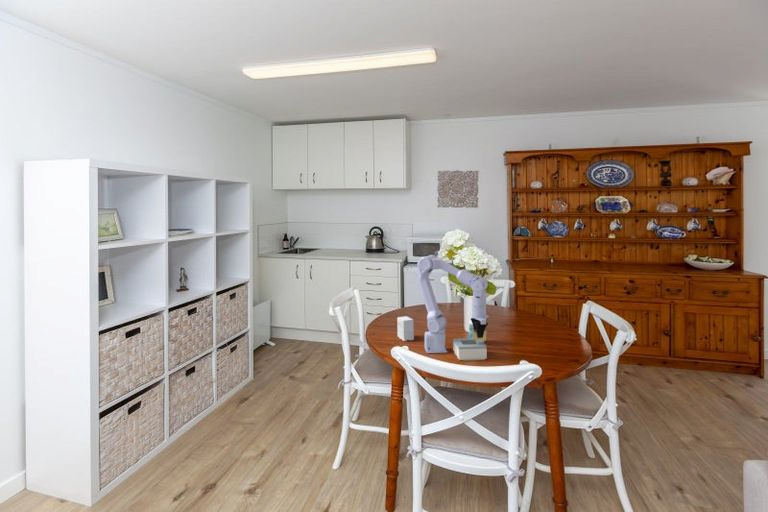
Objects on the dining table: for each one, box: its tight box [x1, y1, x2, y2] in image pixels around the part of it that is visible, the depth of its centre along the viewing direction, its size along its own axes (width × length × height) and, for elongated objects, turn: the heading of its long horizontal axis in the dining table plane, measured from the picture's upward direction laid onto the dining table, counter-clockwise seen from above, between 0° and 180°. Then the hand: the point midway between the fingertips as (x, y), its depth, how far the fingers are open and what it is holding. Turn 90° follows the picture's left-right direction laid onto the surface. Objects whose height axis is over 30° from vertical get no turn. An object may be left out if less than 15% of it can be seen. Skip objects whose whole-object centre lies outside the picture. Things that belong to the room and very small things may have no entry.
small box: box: [396, 315, 415, 342], centre depth 211 cm, size 8×6×10 cm
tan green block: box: [472, 329, 487, 342], centre depth 184 cm, size 5×4×4 cm
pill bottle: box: [468, 319, 485, 344], centre depth 204 cm, size 8×7×14 cm
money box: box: [452, 337, 488, 361], centre depth 186 cm, size 12×12×6 cm
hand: (478, 336), depth 184 cm, fingers closed on tan green block, 4 cm apart
